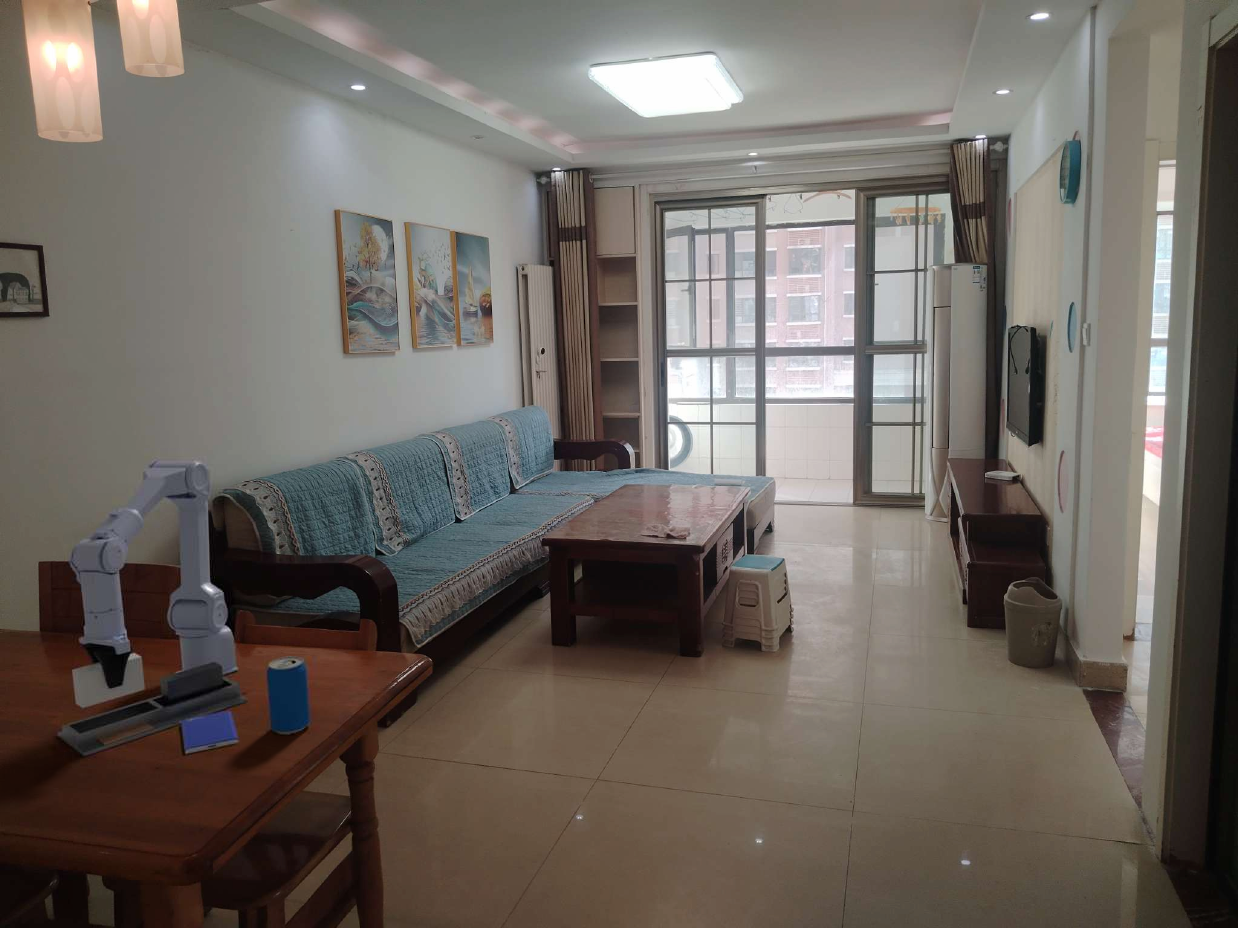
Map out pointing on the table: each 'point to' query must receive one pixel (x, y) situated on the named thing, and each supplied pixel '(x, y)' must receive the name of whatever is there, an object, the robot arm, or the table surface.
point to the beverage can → (288, 695)
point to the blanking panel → (95, 688)
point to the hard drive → (209, 732)
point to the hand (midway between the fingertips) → (111, 683)
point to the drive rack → (156, 710)
